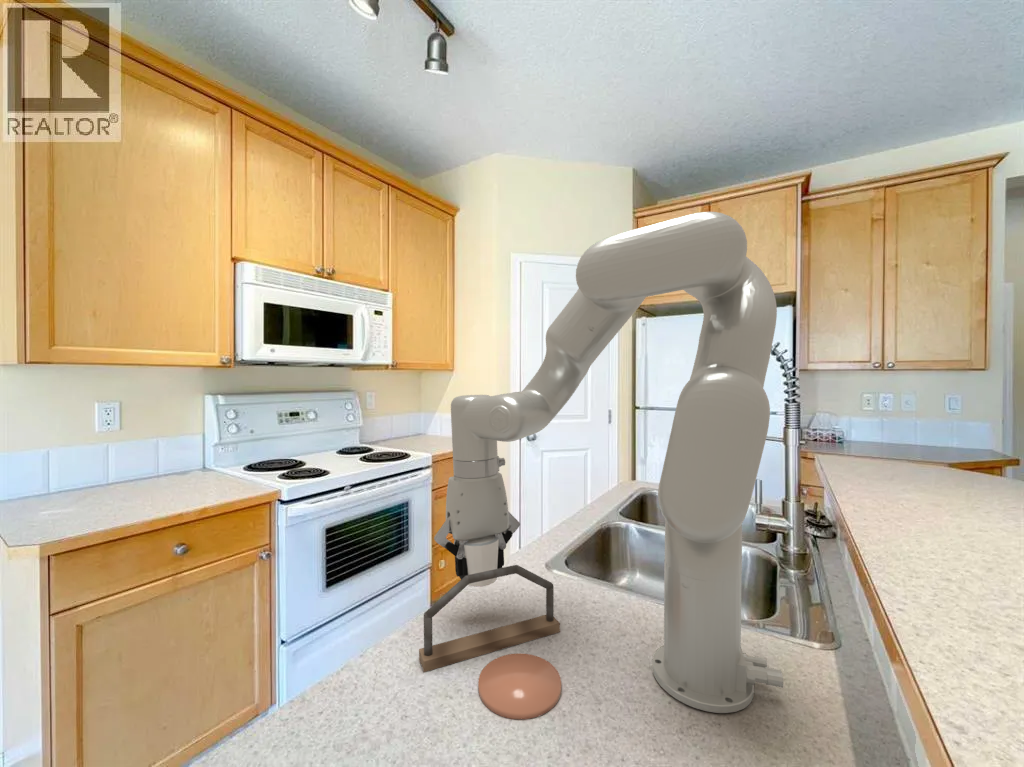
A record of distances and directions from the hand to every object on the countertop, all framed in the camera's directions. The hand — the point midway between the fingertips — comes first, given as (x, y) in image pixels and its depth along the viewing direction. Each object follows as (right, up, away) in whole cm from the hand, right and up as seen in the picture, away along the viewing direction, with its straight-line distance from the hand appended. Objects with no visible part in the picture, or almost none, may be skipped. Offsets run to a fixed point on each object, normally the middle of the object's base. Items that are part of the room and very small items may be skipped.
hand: (480, 573), depth 73 cm
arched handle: (+2, -8, -7) cm, 11 cm away
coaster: (+6, -8, -15) cm, 19 cm away
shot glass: (0, -1, 0) cm, 1 cm away
